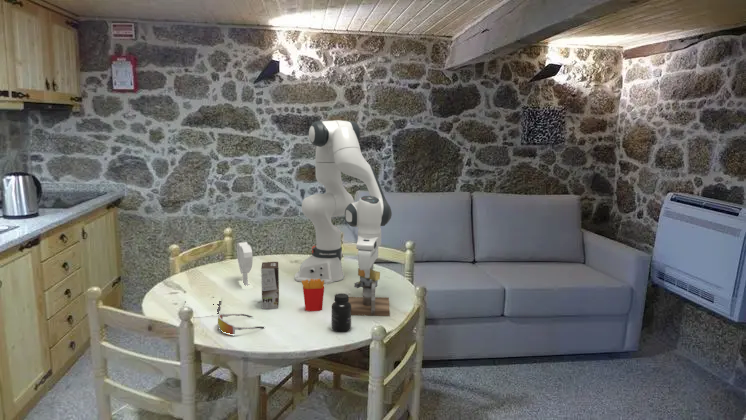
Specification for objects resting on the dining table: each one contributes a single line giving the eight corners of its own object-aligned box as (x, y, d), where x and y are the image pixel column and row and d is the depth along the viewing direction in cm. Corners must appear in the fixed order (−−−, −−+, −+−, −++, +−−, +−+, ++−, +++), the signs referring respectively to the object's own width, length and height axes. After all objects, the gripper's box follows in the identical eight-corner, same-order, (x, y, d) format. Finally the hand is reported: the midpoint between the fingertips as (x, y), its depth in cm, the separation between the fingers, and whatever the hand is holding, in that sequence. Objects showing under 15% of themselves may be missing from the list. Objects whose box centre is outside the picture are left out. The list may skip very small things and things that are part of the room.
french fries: (324, 307, 192) (324, 277, 190) (324, 310, 188) (324, 280, 186) (301, 307, 190) (301, 277, 188) (301, 311, 187) (301, 281, 184)
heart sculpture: (236, 279, 222) (234, 240, 218) (247, 278, 224) (246, 239, 221) (243, 290, 208) (241, 249, 205) (255, 289, 210) (254, 248, 207)
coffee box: (278, 308, 189) (278, 267, 186) (261, 309, 188) (260, 268, 185) (279, 300, 198) (278, 261, 195) (262, 300, 197) (262, 261, 194)
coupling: (383, 286, 189) (383, 270, 188) (364, 292, 181) (364, 276, 180) (366, 280, 195) (366, 265, 194) (347, 286, 187) (347, 271, 186)
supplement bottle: (353, 331, 170) (353, 298, 168) (333, 333, 168) (333, 299, 166) (348, 323, 177) (348, 291, 174) (329, 325, 175) (329, 293, 172)
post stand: (389, 316, 184) (390, 285, 182) (346, 315, 184) (346, 284, 182) (388, 302, 198) (389, 273, 196) (348, 301, 198) (348, 272, 196)
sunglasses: (211, 325, 174) (212, 311, 173) (252, 321, 182) (253, 308, 182) (224, 340, 162) (226, 325, 162) (267, 335, 171) (269, 321, 171)
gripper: (366, 233, 197) (366, 266, 199) (355, 245, 177) (354, 282, 179) (382, 234, 195) (381, 268, 198) (372, 246, 176) (372, 284, 178)
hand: (368, 275), depth 188 cm, fingers closed on coupling, 4 cm apart
